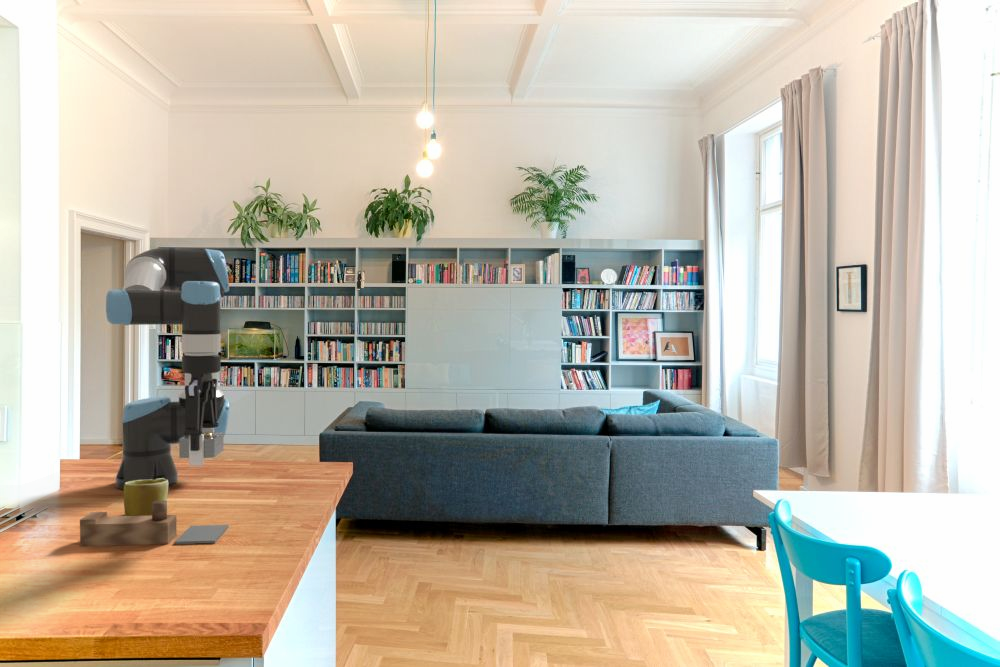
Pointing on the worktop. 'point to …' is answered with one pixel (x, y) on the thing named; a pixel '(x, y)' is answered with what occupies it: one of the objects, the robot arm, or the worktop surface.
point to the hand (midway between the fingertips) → (202, 461)
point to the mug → (143, 496)
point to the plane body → (128, 528)
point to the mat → (201, 534)
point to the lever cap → (211, 445)
